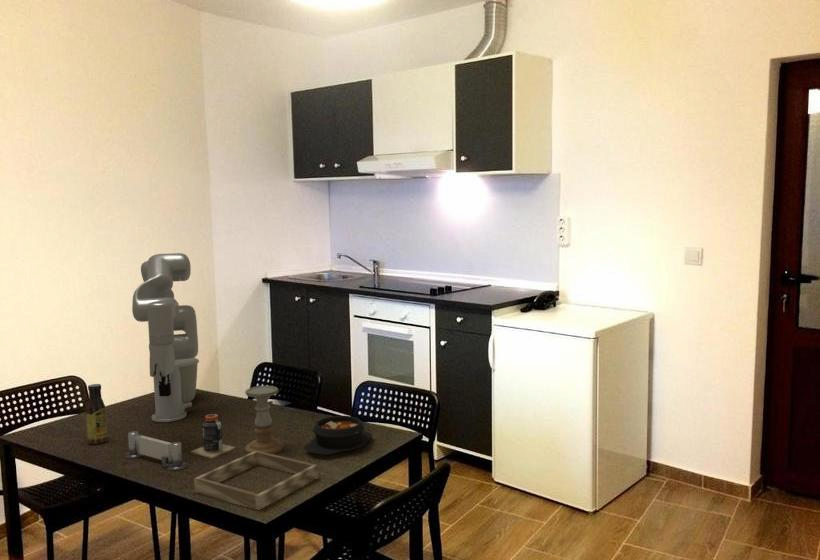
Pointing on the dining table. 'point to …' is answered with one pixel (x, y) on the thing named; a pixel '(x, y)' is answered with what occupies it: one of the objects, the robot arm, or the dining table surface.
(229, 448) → the coaster
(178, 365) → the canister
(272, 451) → the candle holder
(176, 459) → the gate posts
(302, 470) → the square wooden frame
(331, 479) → the dining table surface
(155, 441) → the gate
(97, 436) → the sauce bottle
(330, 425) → the casserole
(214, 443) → the pill bottle
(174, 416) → the robot arm
